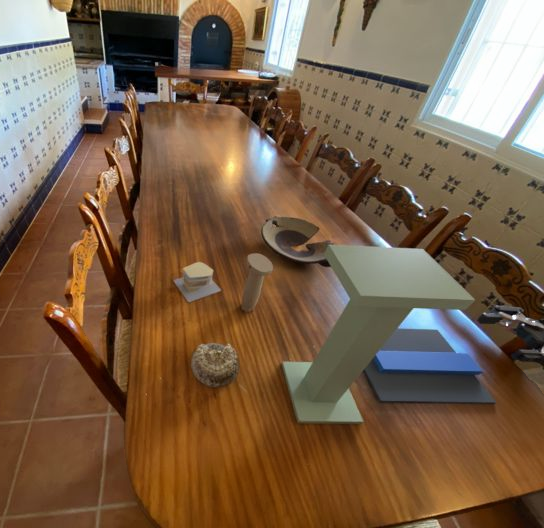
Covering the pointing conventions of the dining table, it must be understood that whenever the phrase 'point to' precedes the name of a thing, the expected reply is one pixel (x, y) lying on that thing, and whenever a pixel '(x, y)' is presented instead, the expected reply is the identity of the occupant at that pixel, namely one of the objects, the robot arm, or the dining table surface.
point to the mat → (424, 385)
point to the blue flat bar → (426, 363)
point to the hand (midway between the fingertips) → (497, 335)
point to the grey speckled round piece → (215, 364)
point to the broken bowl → (294, 240)
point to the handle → (255, 279)
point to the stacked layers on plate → (197, 282)
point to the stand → (366, 324)
